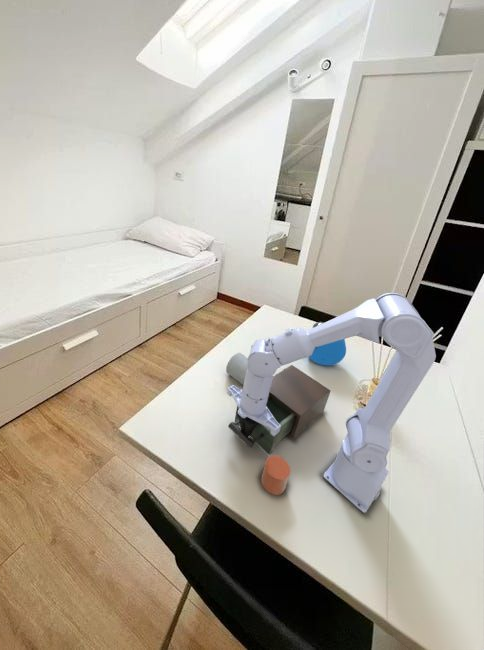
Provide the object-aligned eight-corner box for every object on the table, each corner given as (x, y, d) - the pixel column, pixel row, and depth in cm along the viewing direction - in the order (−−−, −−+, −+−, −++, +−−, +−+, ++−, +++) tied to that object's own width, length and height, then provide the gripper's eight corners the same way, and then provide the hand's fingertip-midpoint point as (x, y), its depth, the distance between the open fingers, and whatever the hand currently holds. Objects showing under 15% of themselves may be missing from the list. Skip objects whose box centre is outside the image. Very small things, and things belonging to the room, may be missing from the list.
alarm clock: (338, 360, 106) (350, 325, 100) (340, 371, 101) (352, 334, 95) (302, 351, 109) (311, 316, 104) (301, 360, 104) (311, 324, 98)
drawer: (254, 467, 65) (259, 448, 62) (220, 431, 72) (223, 412, 70) (301, 426, 76) (307, 408, 74) (267, 399, 84) (271, 381, 81)
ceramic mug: (244, 392, 87) (248, 371, 84) (224, 377, 92) (227, 357, 89) (264, 377, 94) (269, 357, 91) (244, 364, 99) (248, 345, 96)
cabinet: (293, 439, 73) (300, 415, 70) (255, 407, 82) (259, 384, 79) (323, 412, 83) (330, 390, 79) (286, 385, 91) (291, 364, 88)
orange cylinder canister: (290, 484, 63) (295, 469, 61) (275, 500, 60) (280, 484, 58) (271, 465, 66) (275, 450, 64) (256, 479, 63) (260, 464, 61)
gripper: (220, 378, 66) (214, 421, 72) (270, 421, 57) (258, 467, 62) (242, 367, 71) (234, 408, 76) (291, 405, 61) (278, 450, 66)
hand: (246, 434), depth 69 cm, fingers closed, pressing on drawer
